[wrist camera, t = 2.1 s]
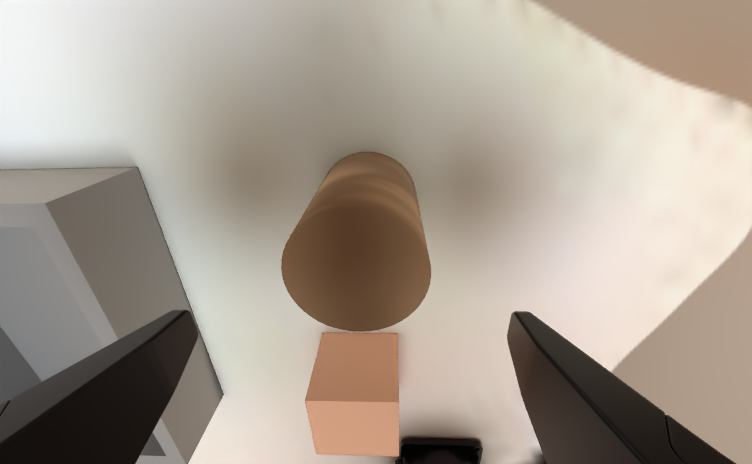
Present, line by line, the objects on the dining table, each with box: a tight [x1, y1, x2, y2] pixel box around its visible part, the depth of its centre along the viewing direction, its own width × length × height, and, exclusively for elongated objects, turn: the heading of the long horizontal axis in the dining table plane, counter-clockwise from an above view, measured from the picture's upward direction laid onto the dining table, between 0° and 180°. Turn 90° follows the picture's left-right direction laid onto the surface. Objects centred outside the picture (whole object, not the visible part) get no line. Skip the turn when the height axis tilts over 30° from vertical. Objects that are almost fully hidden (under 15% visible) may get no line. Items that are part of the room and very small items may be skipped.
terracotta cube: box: [305, 333, 399, 456], centre depth 20 cm, size 5×5×5 cm
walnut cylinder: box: [281, 152, 431, 331], centre depth 14 cm, size 5×5×7 cm
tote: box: [0, 167, 224, 464], centre depth 19 cm, size 14×18×5 cm
